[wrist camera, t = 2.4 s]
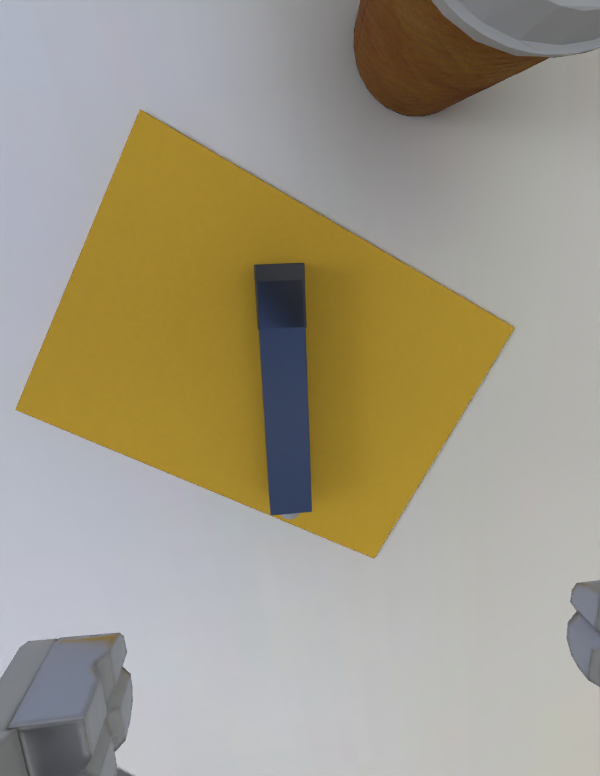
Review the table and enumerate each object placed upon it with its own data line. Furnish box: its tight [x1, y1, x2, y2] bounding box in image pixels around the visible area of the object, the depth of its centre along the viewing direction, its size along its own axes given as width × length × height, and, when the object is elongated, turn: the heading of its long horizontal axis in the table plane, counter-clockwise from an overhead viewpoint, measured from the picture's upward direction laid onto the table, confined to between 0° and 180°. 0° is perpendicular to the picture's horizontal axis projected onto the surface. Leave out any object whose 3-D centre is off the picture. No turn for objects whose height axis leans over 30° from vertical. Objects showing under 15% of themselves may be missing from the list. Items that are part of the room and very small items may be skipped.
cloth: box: [16, 110, 514, 558], centre depth 25 cm, size 22×16×1 cm
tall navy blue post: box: [254, 263, 312, 519], centre depth 24 cm, size 14×2×3 cm, turn 2°
